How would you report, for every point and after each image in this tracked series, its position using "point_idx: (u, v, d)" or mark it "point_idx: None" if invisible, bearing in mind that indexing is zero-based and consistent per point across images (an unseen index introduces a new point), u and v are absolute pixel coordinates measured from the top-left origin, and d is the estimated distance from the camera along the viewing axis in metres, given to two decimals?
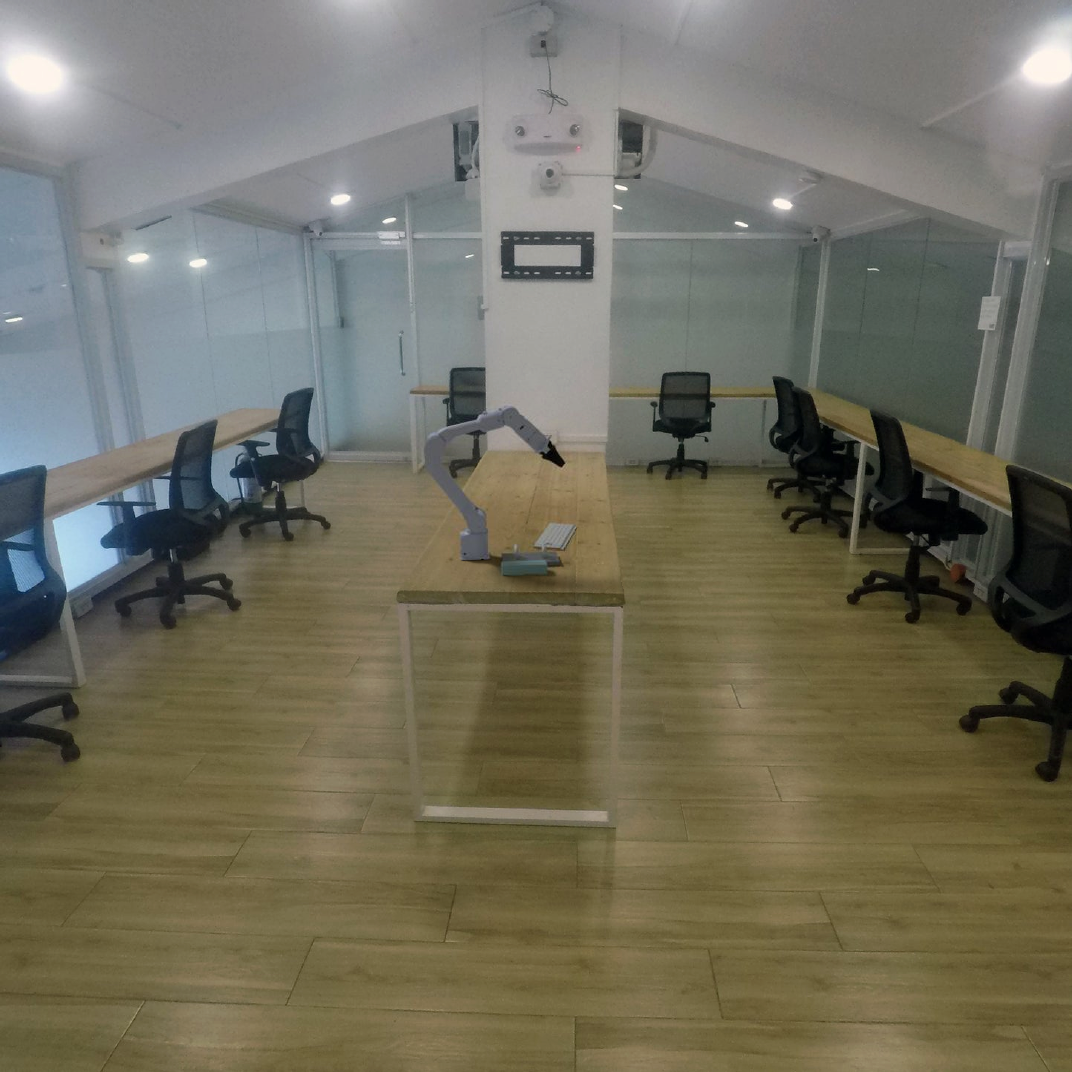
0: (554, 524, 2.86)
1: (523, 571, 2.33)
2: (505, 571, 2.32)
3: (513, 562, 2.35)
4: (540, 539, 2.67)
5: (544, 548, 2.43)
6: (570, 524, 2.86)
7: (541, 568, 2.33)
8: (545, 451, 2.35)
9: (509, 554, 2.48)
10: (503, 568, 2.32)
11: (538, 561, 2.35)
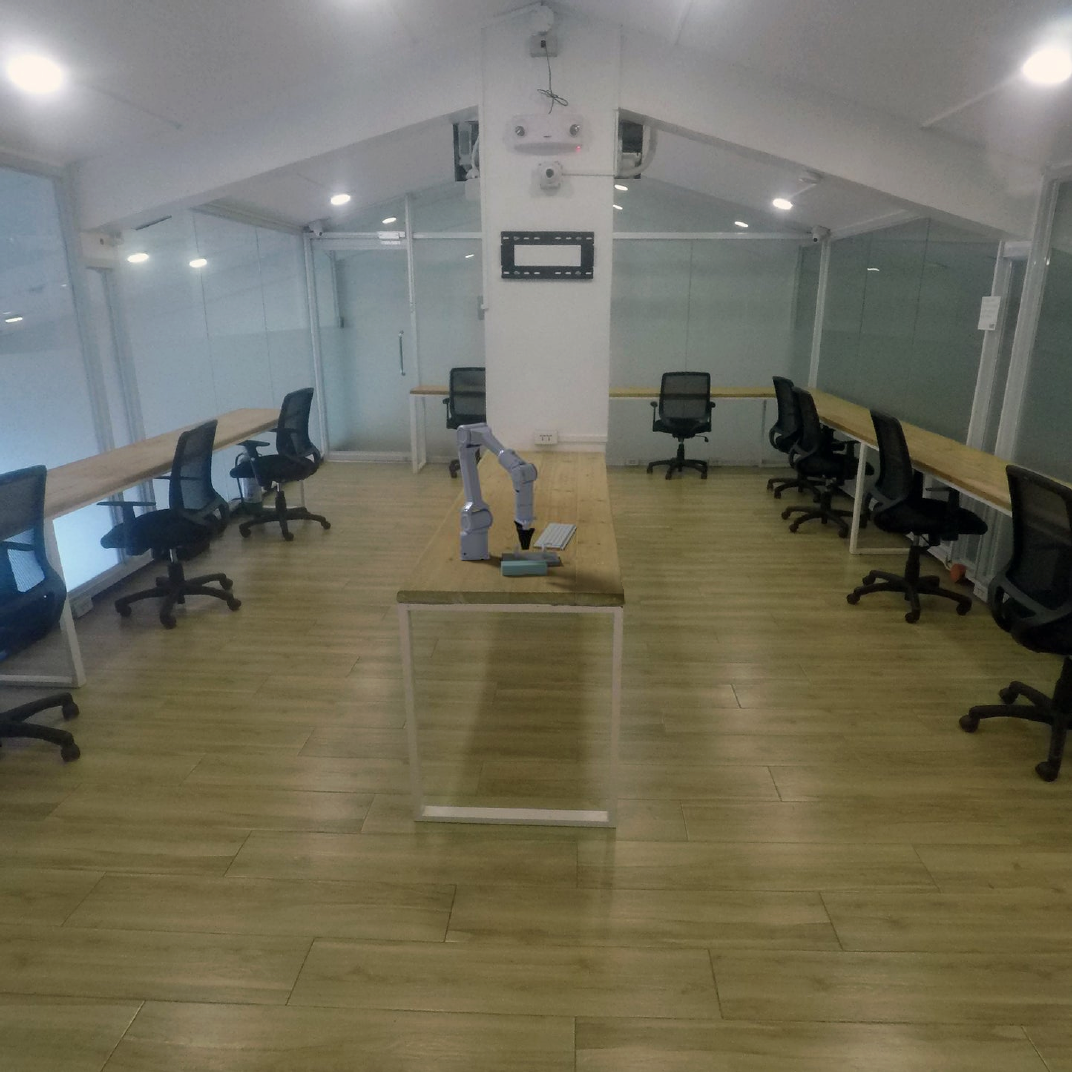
0: (554, 524, 2.86)
1: (523, 571, 2.33)
2: (505, 571, 2.32)
3: (513, 562, 2.35)
4: (540, 539, 2.67)
5: (544, 548, 2.43)
6: (570, 524, 2.86)
7: (541, 568, 2.33)
8: (524, 527, 2.24)
9: (509, 554, 2.48)
10: (503, 568, 2.32)
11: (538, 561, 2.35)
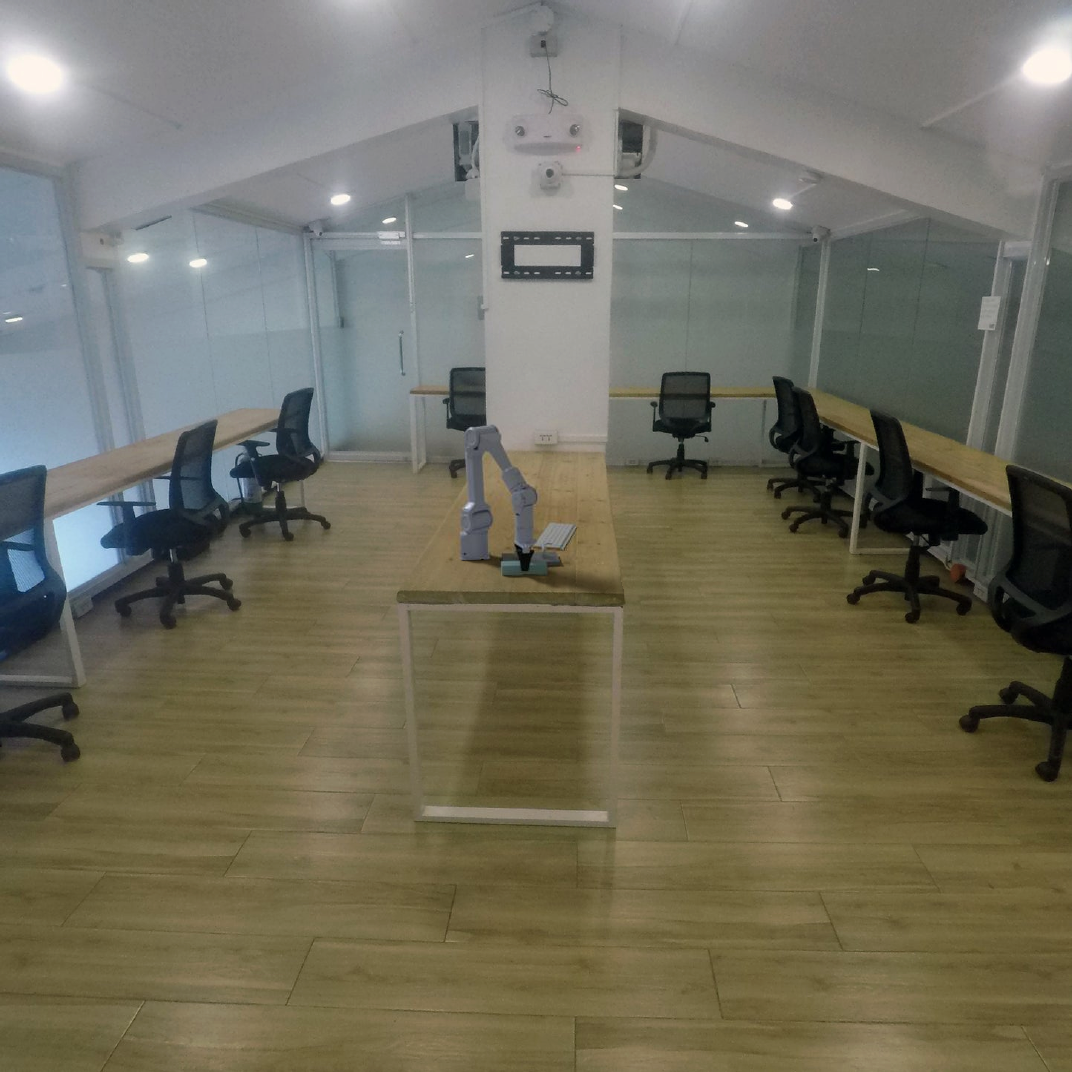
0: (554, 524, 2.86)
1: (523, 571, 2.33)
2: (505, 571, 2.32)
3: (513, 562, 2.35)
4: (540, 539, 2.67)
5: (544, 548, 2.43)
6: (570, 524, 2.86)
7: (540, 567, 2.33)
8: (524, 551, 2.26)
9: (509, 554, 2.48)
10: (503, 568, 2.32)
11: (538, 561, 2.36)
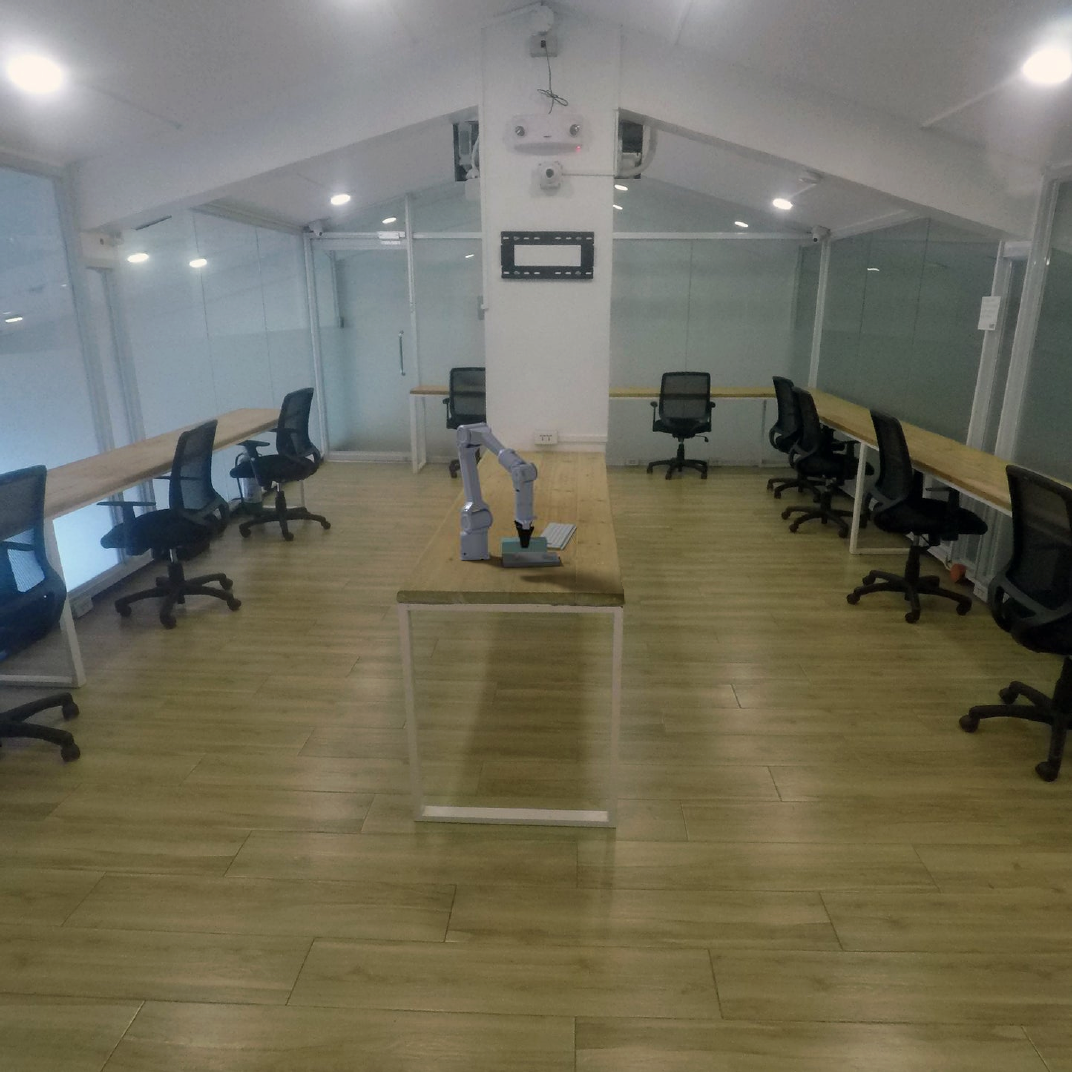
0: (554, 524, 2.86)
1: None
2: (505, 547, 2.30)
3: (513, 538, 2.33)
4: None
5: None
6: (570, 524, 2.87)
7: (541, 544, 2.31)
8: (524, 527, 2.24)
9: (509, 554, 2.48)
10: (503, 544, 2.30)
11: (538, 538, 2.33)
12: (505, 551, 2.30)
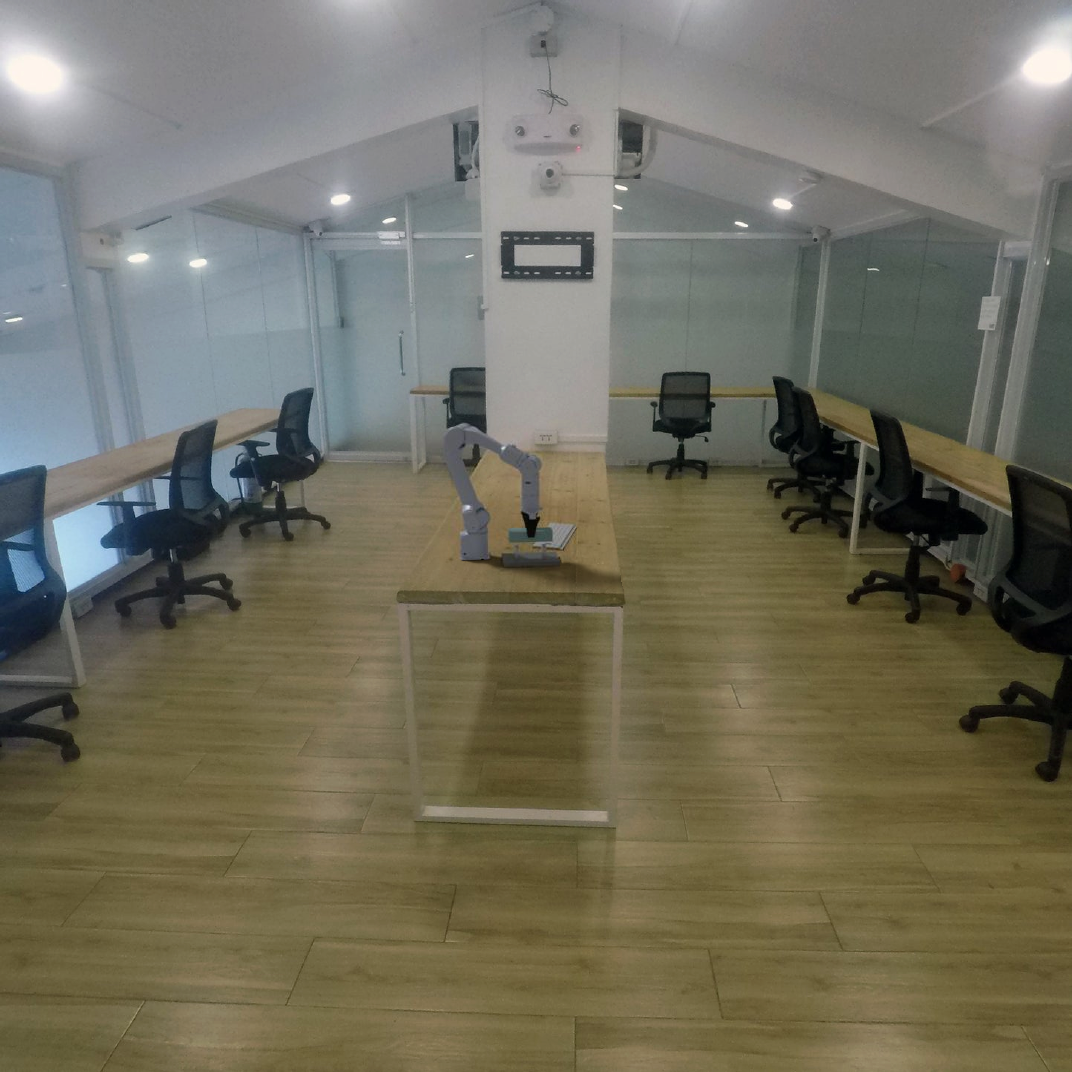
0: (554, 524, 2.86)
1: None
2: (512, 537, 2.40)
3: (520, 529, 2.43)
4: None
5: (544, 548, 2.43)
6: (570, 524, 2.87)
7: (546, 534, 2.41)
8: (531, 517, 2.34)
9: (509, 554, 2.48)
10: (510, 534, 2.40)
11: (544, 528, 2.44)
12: (512, 541, 2.41)
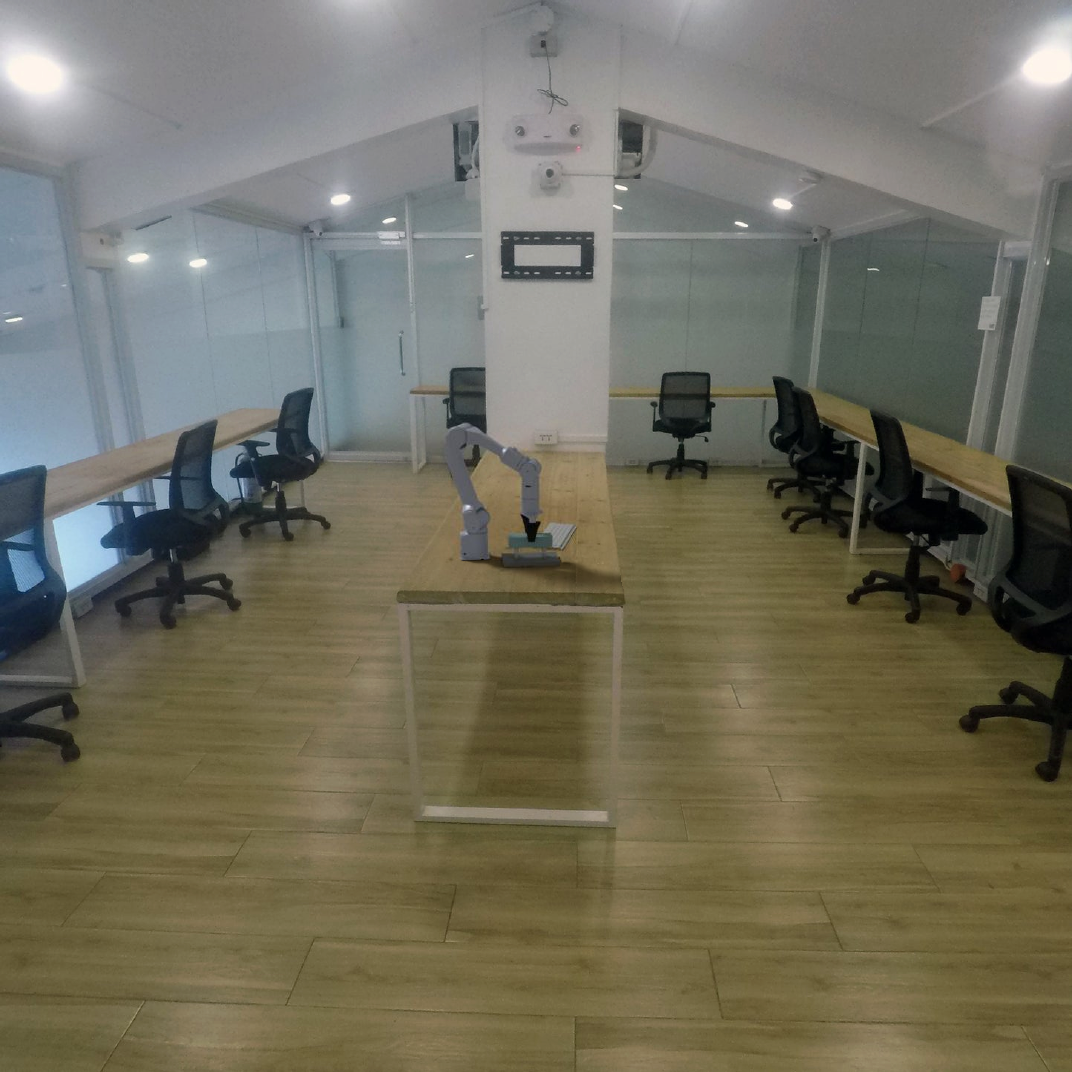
0: (554, 524, 2.86)
1: (529, 542, 2.41)
2: (512, 542, 2.41)
3: (520, 534, 2.44)
4: None
5: (544, 548, 2.43)
6: (570, 524, 2.87)
7: (546, 540, 2.42)
8: (531, 520, 2.34)
9: (509, 554, 2.48)
10: (510, 540, 2.40)
11: (544, 534, 2.44)
12: (512, 546, 2.41)
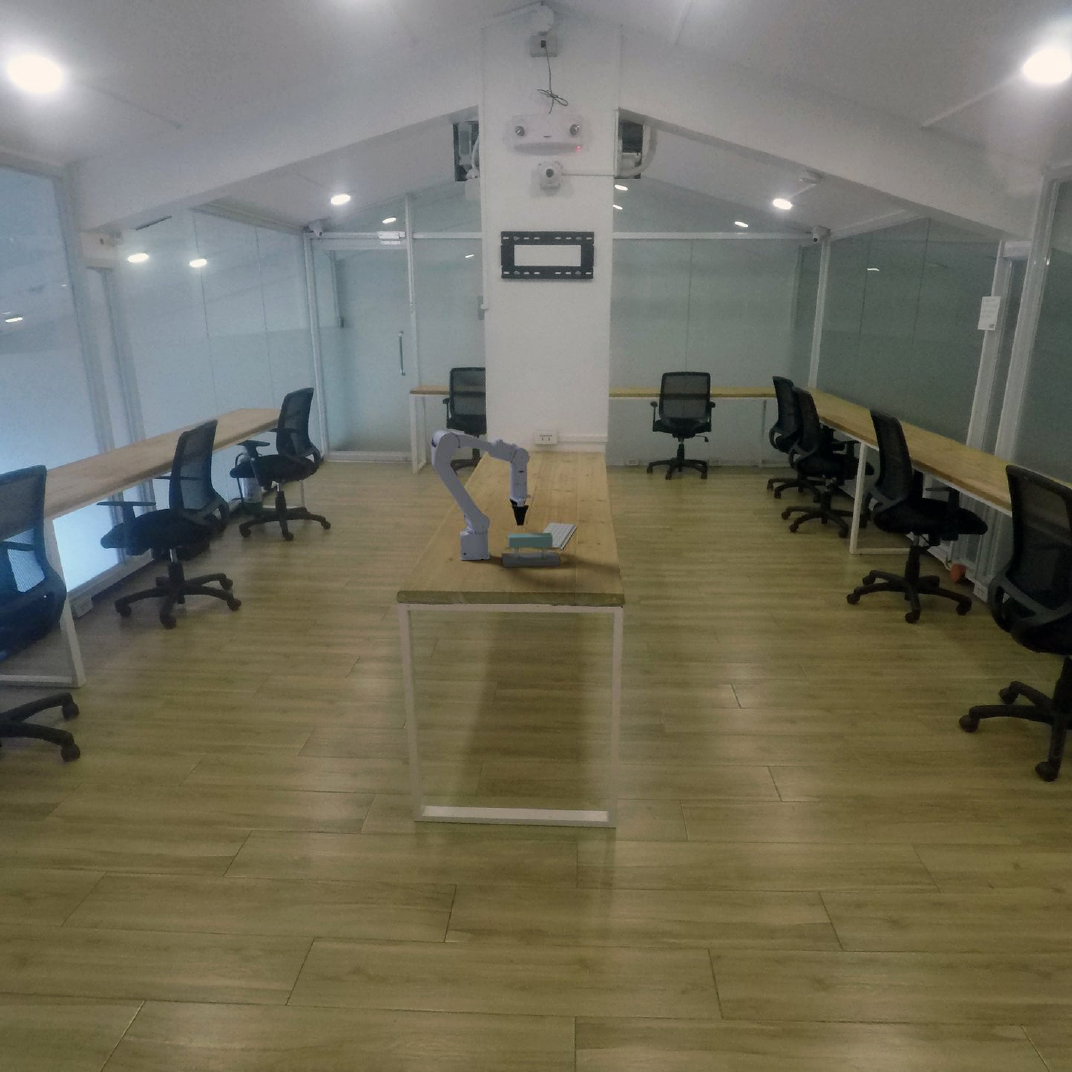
0: (554, 524, 2.87)
1: (529, 542, 2.41)
2: (512, 542, 2.41)
3: (520, 534, 2.44)
4: None
5: (544, 548, 2.43)
6: (570, 524, 2.87)
7: (546, 540, 2.42)
8: (519, 504, 2.44)
9: (509, 554, 2.48)
10: (510, 540, 2.40)
11: (544, 534, 2.44)
12: (512, 546, 2.41)
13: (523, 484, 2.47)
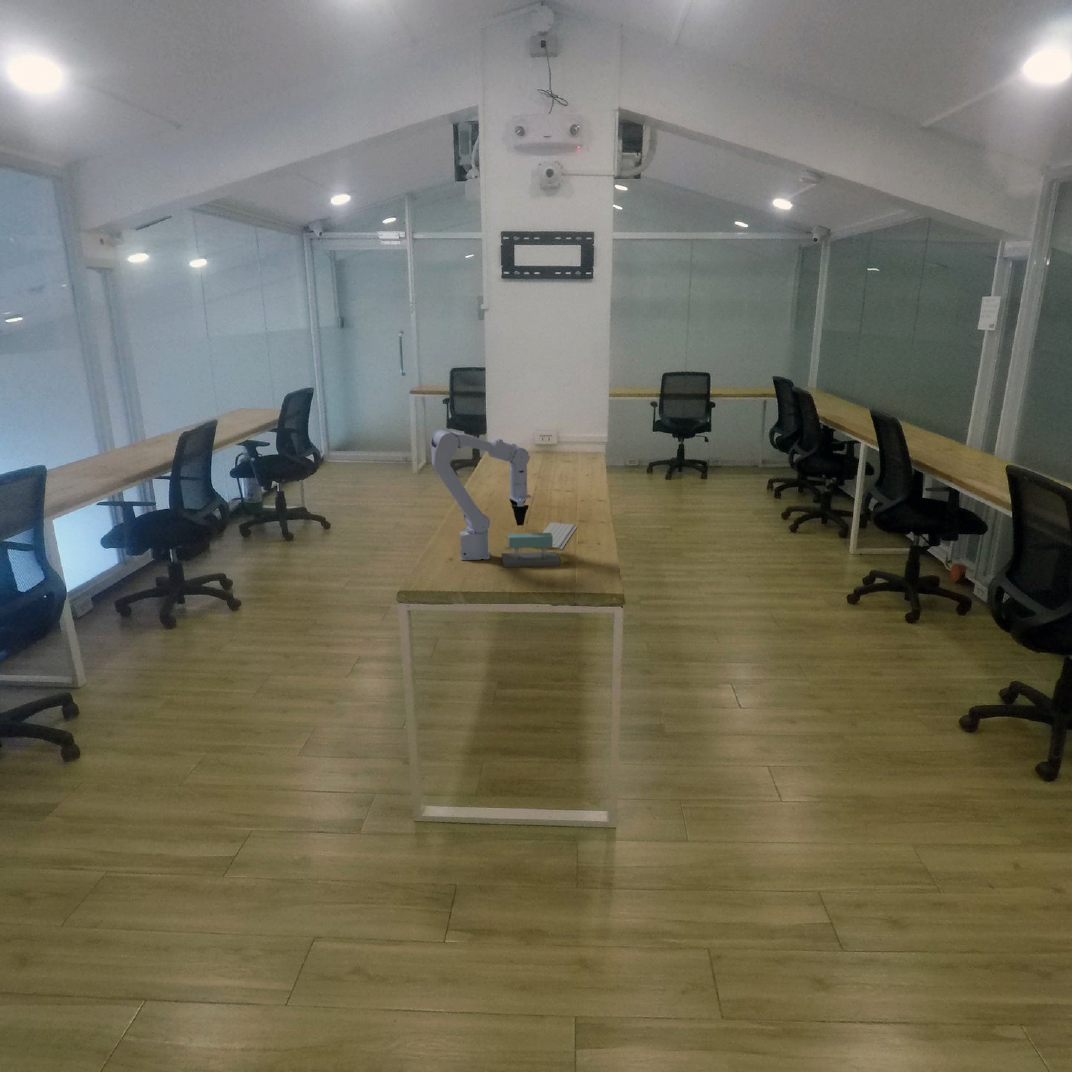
0: (554, 524, 2.87)
1: (529, 542, 2.41)
2: (512, 542, 2.41)
3: (520, 534, 2.44)
4: None
5: (544, 548, 2.43)
6: (570, 524, 2.87)
7: (546, 540, 2.42)
8: (519, 504, 2.44)
9: (509, 554, 2.48)
10: (510, 540, 2.40)
11: (544, 534, 2.44)
12: (512, 546, 2.41)
13: (523, 484, 2.47)
